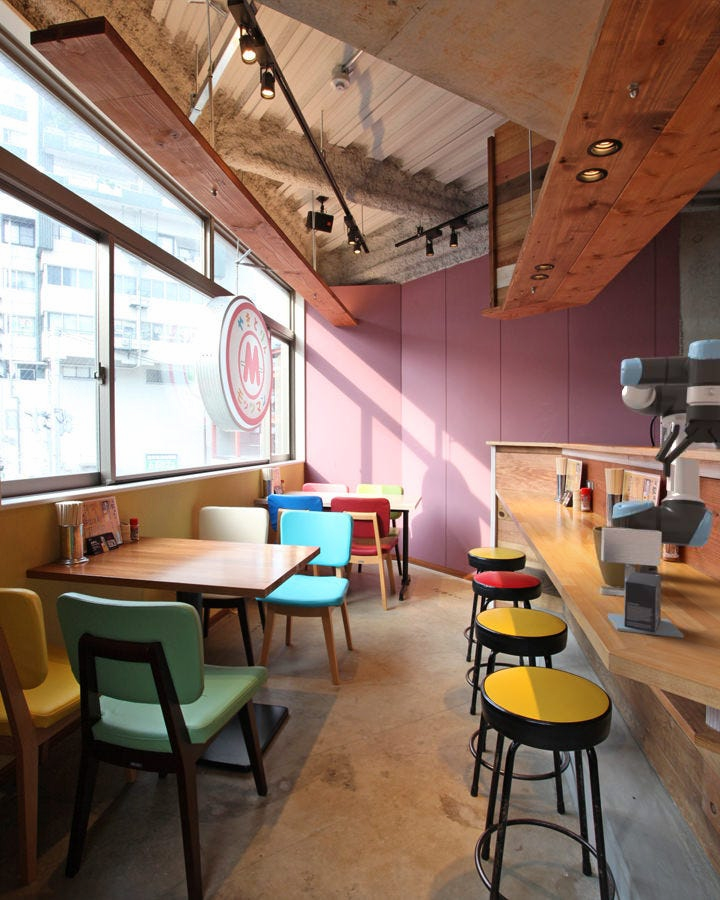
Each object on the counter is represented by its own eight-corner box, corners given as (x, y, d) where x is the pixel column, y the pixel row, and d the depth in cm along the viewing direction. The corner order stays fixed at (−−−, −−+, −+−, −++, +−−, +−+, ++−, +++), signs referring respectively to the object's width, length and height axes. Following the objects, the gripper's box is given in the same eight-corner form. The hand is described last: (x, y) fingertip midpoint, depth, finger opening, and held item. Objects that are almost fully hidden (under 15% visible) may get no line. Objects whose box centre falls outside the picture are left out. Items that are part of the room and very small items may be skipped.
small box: (629, 613, 119) (630, 570, 119) (661, 620, 115) (662, 575, 115) (622, 626, 110) (623, 579, 110) (656, 633, 107) (657, 585, 106)
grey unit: (599, 590, 140) (601, 526, 140) (655, 595, 136) (657, 530, 136) (602, 594, 137) (604, 528, 136) (659, 599, 133) (661, 532, 133)
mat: (607, 615, 119) (607, 613, 119) (668, 621, 116) (668, 619, 116) (617, 630, 110) (617, 627, 110) (684, 637, 106) (684, 635, 106)
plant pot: (588, 586, 144) (590, 531, 144) (593, 575, 157) (595, 524, 157) (648, 595, 137) (650, 537, 136) (648, 582, 149) (650, 529, 149)
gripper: (653, 403, 120) (649, 491, 121) (773, 404, 114) (769, 496, 115) (643, 405, 127) (640, 487, 128) (756, 406, 122) (752, 492, 122)
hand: (701, 492), depth 122 cm, fingers open, 13 cm apart
